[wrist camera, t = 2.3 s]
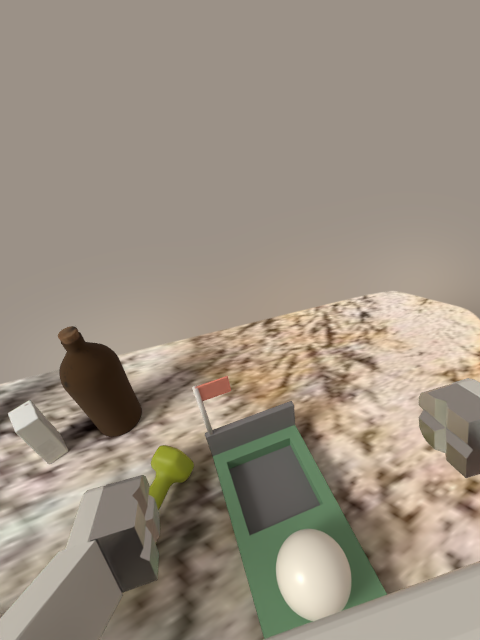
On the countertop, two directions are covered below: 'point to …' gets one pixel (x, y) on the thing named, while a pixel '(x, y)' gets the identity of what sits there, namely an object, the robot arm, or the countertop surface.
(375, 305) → the countertop surface
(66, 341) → the olive oil
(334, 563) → the ball
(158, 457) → the dumbbell
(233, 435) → the putting green
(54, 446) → the skincare box
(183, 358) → the countertop surface
